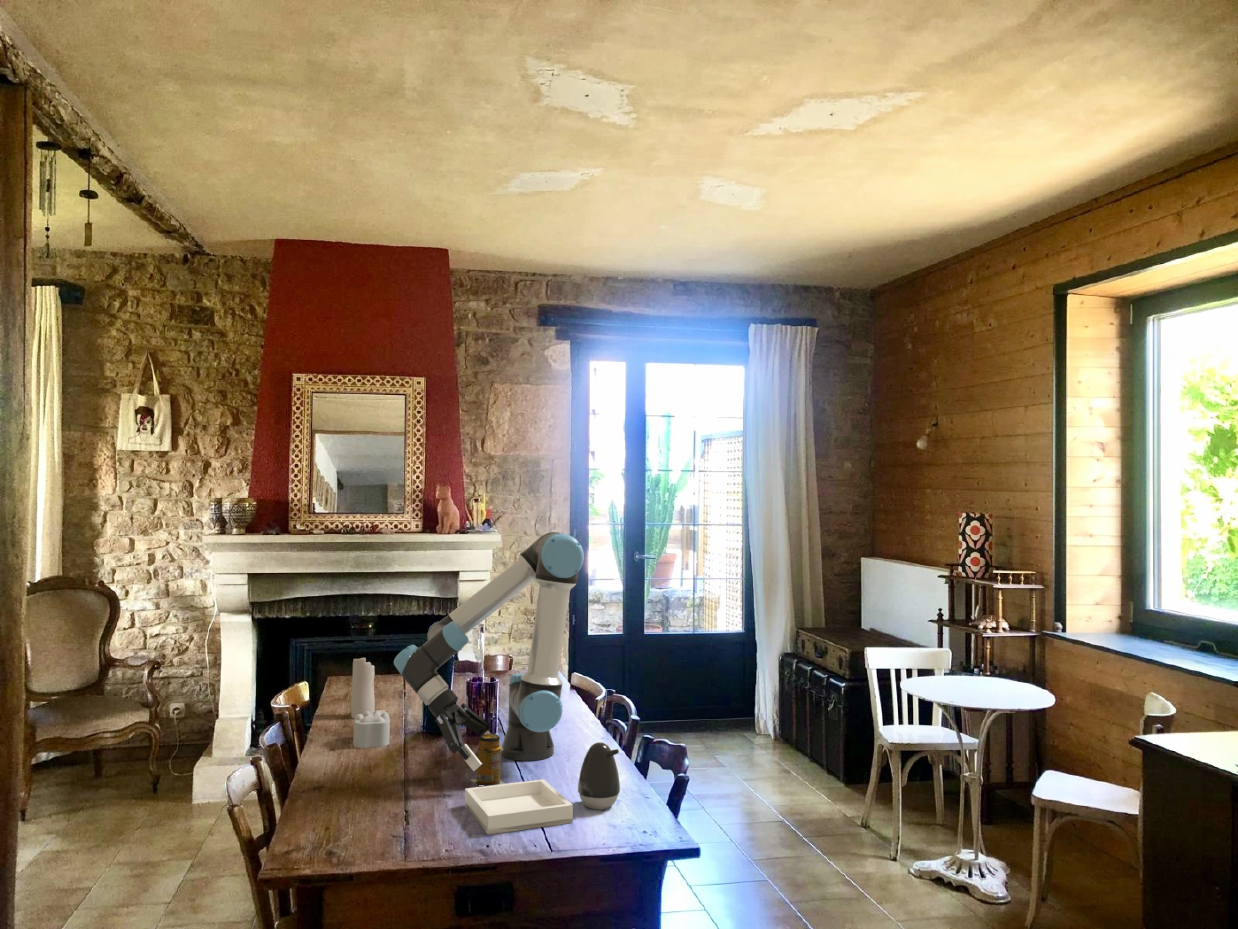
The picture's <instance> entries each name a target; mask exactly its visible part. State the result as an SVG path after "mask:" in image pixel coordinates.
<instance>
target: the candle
mask: <svg viewBox="0 0 1238 929" xmlns="http://www.w3.org/2000/svg"><path fill="white" fill-rule="evenodd" d="M366 661H367V659H366V657H361V658H353V661H352V680H351V681H352V682H351V712H350V715H351V716H350V717H351V718H352V719H354V718H355V716H356V715H357V714H363V713H364V712H366V711H369V712H370V713H373V712H374V711H379V712H380V714H382V713H385V711H386V710H385V709H382V710H381V709H379V710H378V709H377V710H376V706H375V705H376V700H375V698H376V697H375V687H374V685H375V684H374V683H375V682H374V681H375V675H376V674H375V665H373V664H372V663H371V662H370V661H367V662H366Z"/></svg>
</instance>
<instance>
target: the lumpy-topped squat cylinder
mask: <svg viewBox="0 0 1238 929" xmlns="http://www.w3.org/2000/svg"><path fill="white" fill-rule="evenodd" d="M390 725H391V718H390V715H389V713H388V712H385V713H382V714H380V712H379V711H377V710H375V711H374V712H373V713H370V712H369V711H366V712H364V713H363V714H357V715H356V716H355V718H353V734H352V736H353V738H352V739H353V741H352V745H353V746H354V747H355V748H356V749H372V748H373V749H374V747H376V748H384V746H385V747H387V745H388V744H389V745H390V735H391V734H390V728H391V726H390ZM389 745H388V746H389Z"/></svg>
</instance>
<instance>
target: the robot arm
mask: <svg viewBox="0 0 1238 929" xmlns="http://www.w3.org/2000/svg"><path fill="white" fill-rule="evenodd" d="M584 559H585V553H584V549H583V547H582V545H581V543H580V542H579V541H578V540H577V539H576V538H575V537H573V536H572V535H570V534H567V533H564V532H563V533H560V532H557V531H551V532H547V533H544V534H543V535H541V536H540V537H539V538H537V539H536V540H535V541H534V542H533V543H532V544H530V545H529V546H528V547H527V548H525V550H523V551H522V552H521V553H520V554H519V555H518V559H517V561H515V562H513V564H511V565H510V566H509V567H508V568H507V569H505V570H504V571H502V572H501V573H500V574H498V575H497V576H496V577H494V578H493V579H492V580H491V581H489V582H488V583H487V584H485V585H484V586H483V587H482V588H481V589H479V590H478V591H477V592H476V593H474V594H473V595H472V596H471V597H469V598H468V599H467V600H465V601H464V602H463V603H461V604H460V605H459V606H458V607H457V608H455V609H454V610H453V611H451V612H450V613H448V615H447V616H445V617H443V618H442V619H441V620H440V621H436V622H434V623H433V624H432V625H430V626H429V628H428V632H427V637H426V638H427V641H426V642H424V644H422V645H421V646H419V647H418V646H416V645H415V644H410V645H408V646H406V648H404V649H402V650H401V651H400V652H399V653H398V654H397V655H396V656H395V658H394V660H393V666H395V668H396V669H397V671H398V673H399V674H400V675H401V677H402V678H403V679H404V680H405V682H406V683H407V684H408V685H409V686H410V688H412V691H414V692H415V694H417V696H418V698H419V700H420V701H422V702H423V704H424V705H425V706H428V707H427V708H428V710H429V711H430V713H431V714H432V715H433V716H434V717H435V718H436V719H435V721H434V722H435V723H436V725H437V726H438V727H439V730H440V731H441V734H442V736H443V738H444V741H445V744H446V746H447V747H448V751H450V752H452V754H456V753H458V754H459V755H460V756H461V757H462V759H463V760H464V761H465V763H466V764H467V765H468V766H469V767H470V769H471V770H472V771H473V772H475V771H477V768H478V767H479V766H480V765H481V764H482V763H481V762H480V761H479V759H478V758H477V756H476V754H475V753H474V751H472V749H471V748H470V747H469V745H468V744H467V743H464V740H463V736H462V733H461V730H460V727H466V728H467V729H469V730H471V731H472V732H474V733H475V734H477V735H480V736H482V735H484V734H492V733H491V732H490V731H489V730H490V729H491V726H490V724H489V723H488V722H487V721H485V719H483V718H482V717H480V715H478V714H477V713H476V712H474V711H473V710H471V709H470V708H469V706H468V705H467V704H466V703H462V704H461V705H458V704H457V702H458V701H459V698H458V696H457V695H456V694H455V692H454V691H453V690H452V689H451V688H449V684H447V682H446V681H445V680H444V679H443V678H442V676H441V675H440V674H439V673H438V672H437V670H438V669H439V668H441V666H442V665H444V664H445V663H446V662H448V661H449V660H450V659H452V658H453V656H455V655H456V654H457V653H459V652H460V651H462V650H463V648H464V647H465V646H466V645H467V644H468V642H469V636H467V634H468V633H470V632H471V631H472V630H473V629H475V628H476V627H477V626H478V625H480V624H481V623H482V622H483V621H485V620H486V619H487V618H488V617H489V616H491V615H492V614H494V613H495V612H496V611H497V610H499V609H500V608H501V607H502V606H504V605H505V604H507V602H508V601H511V599H513V598H514V597H515V596H517V595H518V594H519V593H520V592H521V591H523V590H524V589H525V588H527V587H528V586H529V585H530V584H532V583H533V582H537V583H538V586H539V588H538V594H537V603H536V608H535V615H534V623H533V630H532V637H531V644H530V651H529V657H528V663H527V664H528V665H527V671H526V672H525V673H523V672H522V673H514V674H512V675H511V676H509V683H508V722H507V723H508V724H507V729H506V732H505V735H504V737H503V741H502V744H501V745H500V747H501V756H502V757H504V758H507V759H510V760H514V761H539V760H545V759H548V758H550V757H552V756H553V755H554V753H555V752H554V751H555V745H554V742H553V737H552V734H551V730H552V729H554V728H555V727H556V726H557V725H558V724H559V722H560V720H561V719H562V716H563V703H562V701H561V698H562V697H561V696H562V695H561V694H562V688H563V681H562V679H561V678H560V677H559V672H560V665H561V658H562V649H563V641H564V636H565V627H566V620H567V614H568V607H569V600H570V592H571V590H572V589H573V588H574V587H575V586H576V585H577V583H578V576H579V571H580V570H581V568H582V567H583V564H584V561H585V560H584ZM551 755H552V756H551Z"/></svg>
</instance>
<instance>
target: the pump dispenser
mask: <svg viewBox="0 0 1238 929" xmlns="http://www.w3.org/2000/svg"><path fill="white" fill-rule="evenodd" d="M619 752H620V750H619V749H617V748H616V749H611V748H610V746H609V745H608V744H606V743H605V742H594V743H593V744H591V746H590V747H589V748H588V750H587V752H586V754H585V756H584V759H583V761H582V764H581V769H580V772H579V777H578V784H577V785H578V786H577V792H578V795H579V797H580V800H581V802H582V804H584V805H585V806H586V807H587V808H589V809H592V810H597V809H601V810H606V809H608V808H610V807H612V806H613V805H614V804H615V802H616V801H617V799H618V797H619V794H620V792H621V784H620V775H619V770H618V765H617V761H616V759H615V756H616V755H618V754H619Z"/></svg>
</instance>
